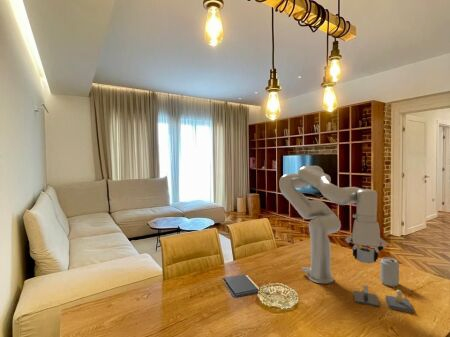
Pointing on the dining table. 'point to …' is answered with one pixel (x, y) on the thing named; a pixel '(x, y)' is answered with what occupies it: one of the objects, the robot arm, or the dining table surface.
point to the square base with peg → (399, 302)
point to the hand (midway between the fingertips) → (365, 258)
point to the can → (389, 272)
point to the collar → (365, 255)
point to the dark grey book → (241, 286)
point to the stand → (366, 297)
